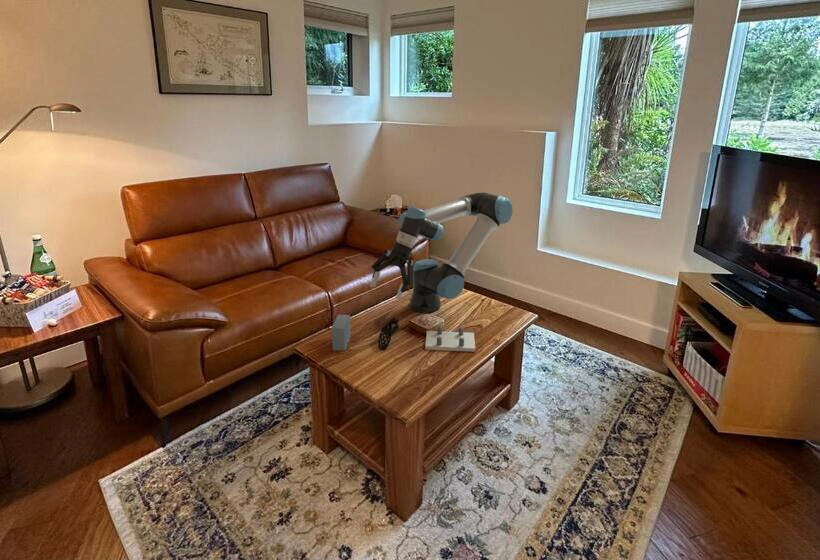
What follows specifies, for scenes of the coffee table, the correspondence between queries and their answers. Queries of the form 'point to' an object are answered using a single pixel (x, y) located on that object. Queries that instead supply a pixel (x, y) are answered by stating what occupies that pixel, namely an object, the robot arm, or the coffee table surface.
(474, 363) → the coffee table surface
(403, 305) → the coffee table surface
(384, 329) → the decorative element
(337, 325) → the slate block
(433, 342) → the pegboard
